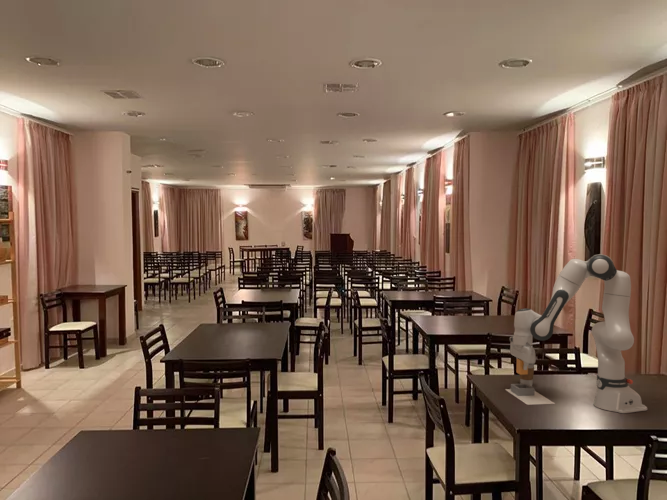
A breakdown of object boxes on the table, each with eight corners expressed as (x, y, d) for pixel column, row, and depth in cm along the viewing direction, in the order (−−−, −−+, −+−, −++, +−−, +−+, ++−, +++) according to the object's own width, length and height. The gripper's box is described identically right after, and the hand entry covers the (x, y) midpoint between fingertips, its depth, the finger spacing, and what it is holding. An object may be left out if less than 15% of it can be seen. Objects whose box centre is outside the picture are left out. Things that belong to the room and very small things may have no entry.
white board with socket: (530, 390, 271) (530, 381, 271) (555, 405, 247) (555, 396, 247) (504, 391, 269) (504, 382, 269) (527, 406, 245) (527, 397, 245)
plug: (523, 372, 265) (524, 355, 265) (527, 374, 261) (528, 357, 261) (516, 372, 264) (516, 355, 264) (520, 374, 260) (520, 357, 260)
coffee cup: (518, 386, 277) (518, 358, 277) (517, 382, 285) (518, 355, 285) (535, 388, 275) (535, 359, 274) (534, 383, 283) (534, 356, 282)
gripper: (539, 345, 252) (538, 373, 253) (519, 336, 273) (519, 363, 273) (526, 345, 251) (526, 373, 252) (508, 336, 272) (507, 363, 272)
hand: (522, 368), depth 263 cm, fingers closed on plug, 4 cm apart
